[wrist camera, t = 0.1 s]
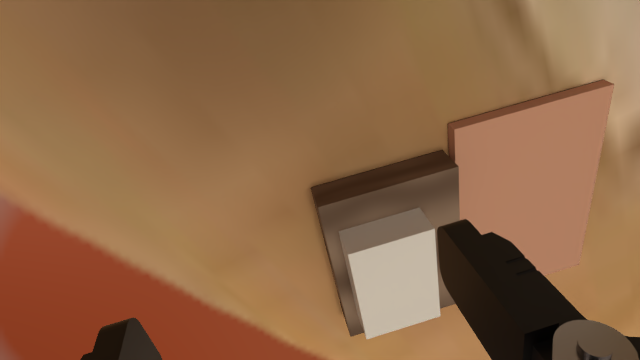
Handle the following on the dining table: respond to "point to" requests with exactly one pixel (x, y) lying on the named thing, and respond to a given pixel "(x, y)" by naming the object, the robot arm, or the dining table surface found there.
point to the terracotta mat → (534, 171)
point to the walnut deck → (386, 211)
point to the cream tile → (393, 271)
